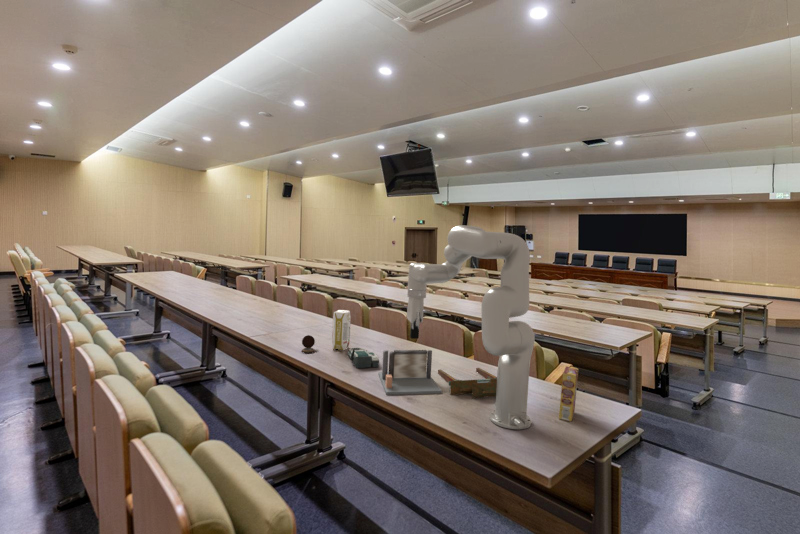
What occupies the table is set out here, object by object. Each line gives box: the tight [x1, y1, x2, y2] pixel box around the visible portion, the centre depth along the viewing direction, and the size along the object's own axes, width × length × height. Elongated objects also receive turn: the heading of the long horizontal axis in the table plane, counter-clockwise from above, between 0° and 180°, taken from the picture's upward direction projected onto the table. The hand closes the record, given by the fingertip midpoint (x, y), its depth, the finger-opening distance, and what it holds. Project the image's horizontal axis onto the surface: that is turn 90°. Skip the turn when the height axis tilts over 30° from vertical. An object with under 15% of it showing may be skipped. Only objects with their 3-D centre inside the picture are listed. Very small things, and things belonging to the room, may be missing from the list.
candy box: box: [558, 366, 579, 422], centre depth 132 cm, size 9×4×15 cm, turn 151°
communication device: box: [346, 347, 380, 369], centre depth 184 cm, size 12×24×9 cm, turn 17°
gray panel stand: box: [378, 349, 443, 396], centre depth 156 cm, size 22×20×12 cm
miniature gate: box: [437, 367, 497, 399], centre depth 158 cm, size 27×6×30 cm
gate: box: [388, 349, 428, 378], centre depth 159 cm, size 15×2×11 cm, turn 100°
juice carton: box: [331, 309, 352, 351], centre depth 202 cm, size 8×9×19 cm
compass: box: [301, 334, 319, 354], centre depth 195 cm, size 8×8×7 cm
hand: (414, 338), depth 165 cm, fingers closed
